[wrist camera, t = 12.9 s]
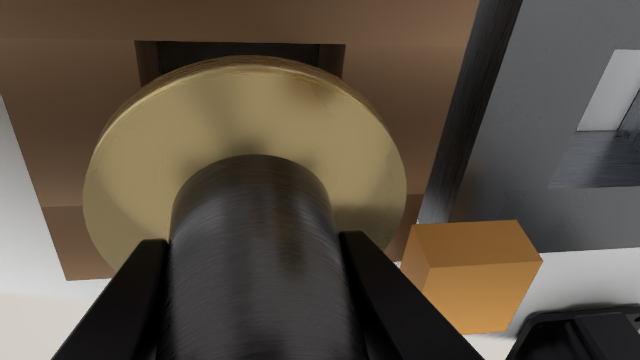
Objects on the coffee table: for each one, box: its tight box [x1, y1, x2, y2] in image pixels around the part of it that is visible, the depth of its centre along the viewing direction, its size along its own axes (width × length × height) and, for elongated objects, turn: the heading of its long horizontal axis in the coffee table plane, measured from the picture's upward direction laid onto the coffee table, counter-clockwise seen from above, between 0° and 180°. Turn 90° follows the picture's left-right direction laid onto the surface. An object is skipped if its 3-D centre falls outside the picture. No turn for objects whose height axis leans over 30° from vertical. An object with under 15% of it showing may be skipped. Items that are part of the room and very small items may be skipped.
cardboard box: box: [400, 220, 543, 335], centre depth 14 cm, size 3×3×2 cm
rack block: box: [0, 0, 480, 281], centre depth 13 cm, size 10×10×3 cm
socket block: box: [418, 0, 640, 253], centre depth 15 cm, size 10×10×3 cm
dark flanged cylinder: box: [83, 55, 406, 360], centre depth 9 cm, size 6×6×8 cm
